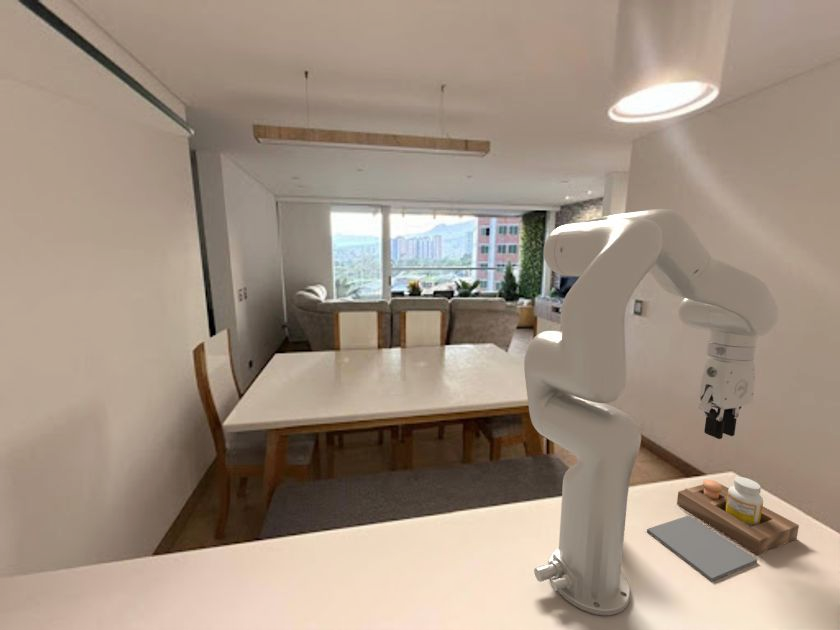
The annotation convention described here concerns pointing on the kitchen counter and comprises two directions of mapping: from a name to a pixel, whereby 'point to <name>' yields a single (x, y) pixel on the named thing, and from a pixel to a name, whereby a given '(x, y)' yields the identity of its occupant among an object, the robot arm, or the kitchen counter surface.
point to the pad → (701, 547)
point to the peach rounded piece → (712, 489)
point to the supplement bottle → (745, 501)
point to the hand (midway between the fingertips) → (719, 433)
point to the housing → (739, 521)
